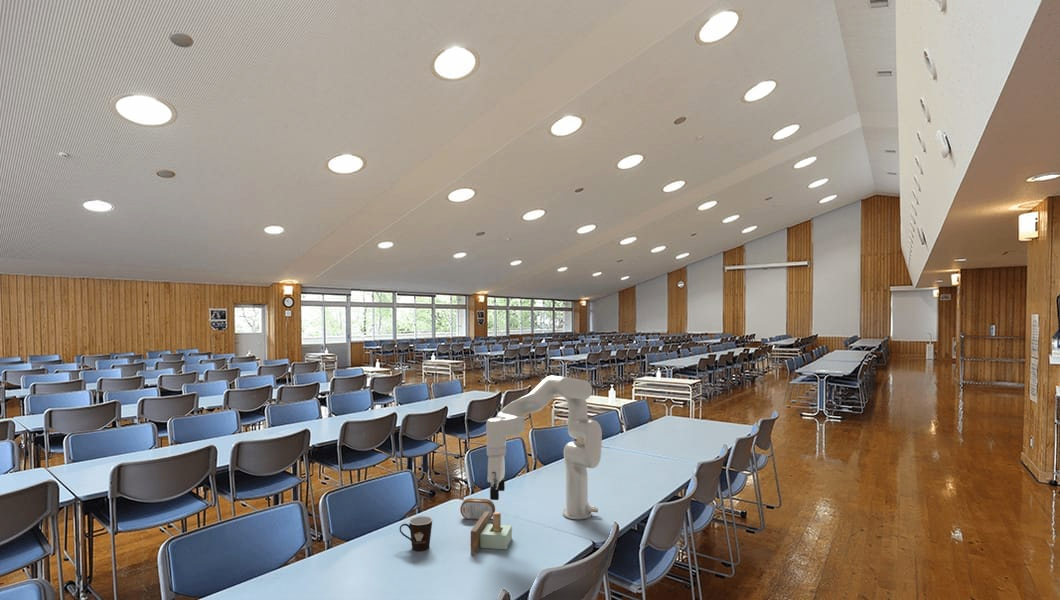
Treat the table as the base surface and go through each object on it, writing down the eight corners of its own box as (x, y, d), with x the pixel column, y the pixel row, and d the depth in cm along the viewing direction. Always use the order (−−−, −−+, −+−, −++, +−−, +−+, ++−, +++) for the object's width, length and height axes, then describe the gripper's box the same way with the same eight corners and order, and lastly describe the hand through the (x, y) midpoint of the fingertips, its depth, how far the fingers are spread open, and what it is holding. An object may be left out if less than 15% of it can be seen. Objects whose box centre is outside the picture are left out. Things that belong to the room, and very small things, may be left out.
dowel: (493, 538, 197) (494, 511, 197) (501, 538, 196) (501, 512, 197) (491, 541, 194) (492, 514, 194) (499, 542, 193) (499, 515, 194)
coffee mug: (436, 544, 194) (437, 518, 194) (423, 554, 186) (423, 526, 186) (412, 539, 198) (412, 513, 199) (397, 548, 191) (398, 521, 191)
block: (511, 538, 199) (511, 525, 199) (506, 549, 189) (506, 535, 189) (487, 536, 201) (487, 523, 201) (480, 547, 191) (480, 534, 191)
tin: (495, 518, 220) (495, 498, 220) (494, 521, 217) (494, 501, 217) (461, 517, 221) (461, 497, 222) (459, 520, 218) (459, 500, 219)
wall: (489, 531, 206) (489, 511, 206) (475, 553, 186) (475, 531, 186) (484, 531, 206) (484, 511, 206) (470, 553, 186) (470, 531, 187)
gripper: (492, 444, 206) (493, 487, 205) (481, 456, 189) (482, 503, 188) (510, 444, 204) (511, 487, 204) (500, 457, 187) (501, 503, 187)
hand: (497, 495), depth 196 cm, fingers open, 9 cm apart
